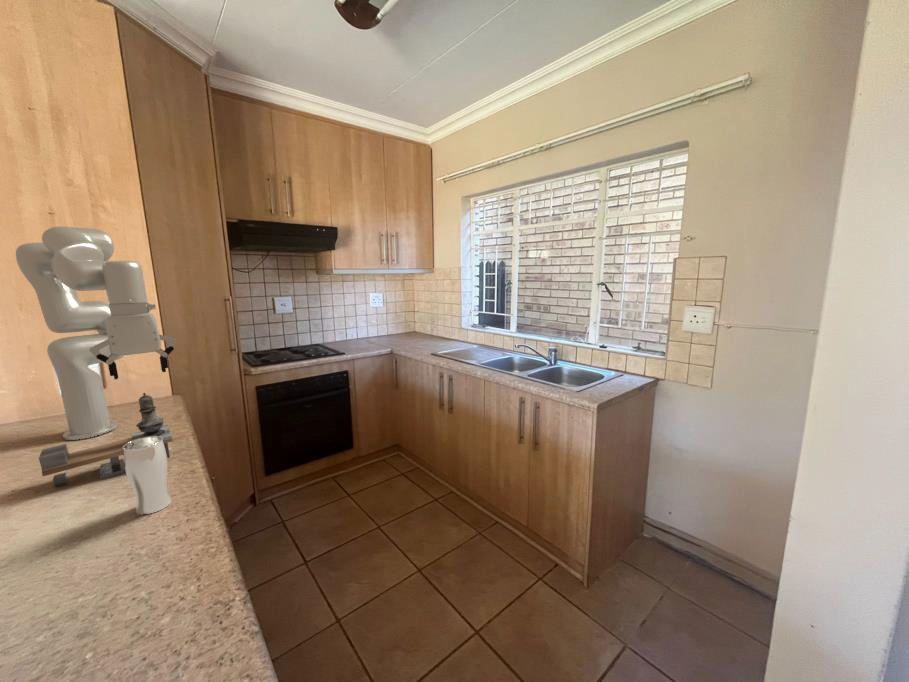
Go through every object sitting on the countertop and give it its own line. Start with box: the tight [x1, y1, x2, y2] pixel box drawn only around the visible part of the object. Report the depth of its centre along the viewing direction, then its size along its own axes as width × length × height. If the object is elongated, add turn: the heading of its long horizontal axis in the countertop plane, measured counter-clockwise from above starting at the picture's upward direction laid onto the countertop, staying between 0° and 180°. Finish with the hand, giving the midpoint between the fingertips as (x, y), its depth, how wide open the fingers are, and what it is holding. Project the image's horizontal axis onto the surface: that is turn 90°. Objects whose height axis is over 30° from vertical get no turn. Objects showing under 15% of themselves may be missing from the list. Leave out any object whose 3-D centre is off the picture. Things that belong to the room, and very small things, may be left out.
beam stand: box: [52, 442, 170, 489], centre depth 95 cm, size 8×22×5 cm, turn 133°
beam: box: [38, 424, 173, 477], centre depth 94 cm, size 10×24×4 cm, turn 133°
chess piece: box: [136, 392, 165, 438], centre depth 99 cm, size 6×6×12 cm
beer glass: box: [122, 436, 172, 516], centre depth 79 cm, size 7×7×15 cm
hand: (140, 374), depth 97 cm, fingers open, 9 cm apart
